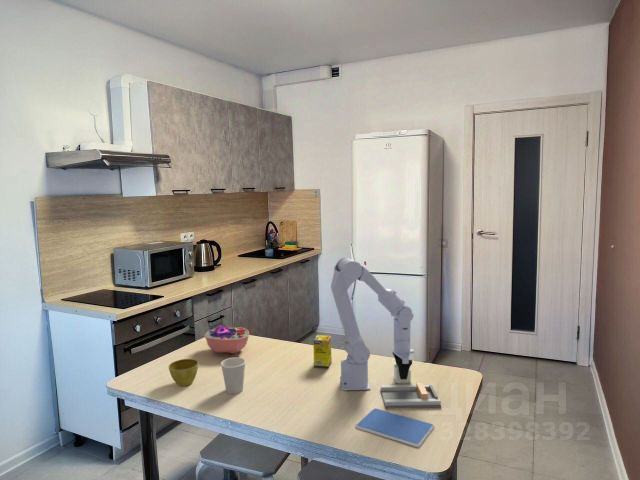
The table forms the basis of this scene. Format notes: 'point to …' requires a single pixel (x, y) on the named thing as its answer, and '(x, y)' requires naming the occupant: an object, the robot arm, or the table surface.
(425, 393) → the block
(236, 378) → the dixie cup
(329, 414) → the table surface
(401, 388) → the rail mount
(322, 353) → the supplement box
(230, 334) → the cell model
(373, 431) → the tablet computer
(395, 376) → the block
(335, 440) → the table surface
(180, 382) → the flower pot
